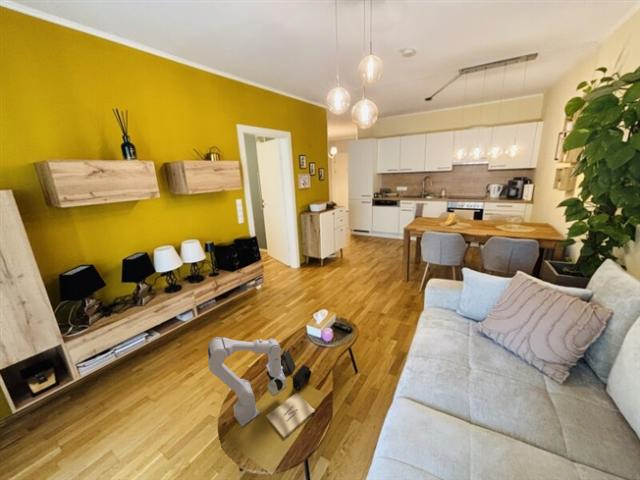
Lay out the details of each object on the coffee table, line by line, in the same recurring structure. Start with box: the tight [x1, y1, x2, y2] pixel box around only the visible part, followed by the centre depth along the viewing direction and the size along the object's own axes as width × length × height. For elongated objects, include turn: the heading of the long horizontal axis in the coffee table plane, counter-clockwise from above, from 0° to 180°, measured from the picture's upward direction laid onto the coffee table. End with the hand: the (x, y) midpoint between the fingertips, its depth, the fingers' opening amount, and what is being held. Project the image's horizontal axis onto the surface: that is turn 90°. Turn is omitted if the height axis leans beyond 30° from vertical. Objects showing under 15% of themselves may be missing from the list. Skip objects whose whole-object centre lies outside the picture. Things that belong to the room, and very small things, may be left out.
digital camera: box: [291, 364, 312, 392], centre depth 139 cm, size 10×5×7 cm, turn 151°
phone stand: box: [280, 347, 297, 375], centre depth 149 cm, size 9×6×12 cm, turn 74°
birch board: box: [265, 392, 316, 439], centre depth 122 cm, size 18×14×1 cm
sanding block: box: [266, 378, 288, 397], centre depth 128 cm, size 8×4×5 cm, turn 134°
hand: (277, 386), depth 128 cm, fingers closed on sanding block, 4 cm apart
